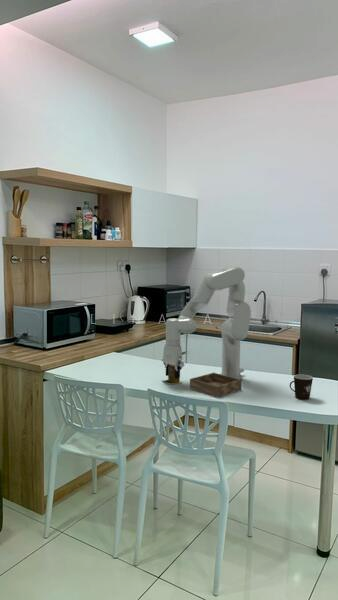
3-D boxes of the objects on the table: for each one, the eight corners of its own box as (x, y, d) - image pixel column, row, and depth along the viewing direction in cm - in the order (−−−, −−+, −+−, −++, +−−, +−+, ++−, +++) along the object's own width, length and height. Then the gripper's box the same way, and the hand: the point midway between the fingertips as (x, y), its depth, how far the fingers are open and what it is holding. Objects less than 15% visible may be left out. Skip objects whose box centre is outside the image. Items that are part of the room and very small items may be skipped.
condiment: (183, 382, 236) (183, 359, 235) (169, 385, 232) (169, 361, 231) (175, 379, 242) (175, 357, 241) (161, 381, 238) (161, 358, 237)
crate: (213, 381, 238) (213, 372, 237) (241, 389, 225) (241, 379, 225) (189, 388, 226) (189, 379, 225) (217, 397, 213) (218, 387, 212)
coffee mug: (308, 394, 218) (309, 374, 217) (314, 400, 209) (315, 379, 208) (284, 394, 218) (285, 374, 217) (289, 400, 209) (290, 379, 208)
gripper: (156, 340, 238) (156, 374, 240) (180, 346, 226) (179, 381, 228) (166, 339, 243) (166, 372, 245) (190, 344, 231) (189, 378, 233)
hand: (172, 376), depth 237 cm, fingers closed on condiment, 6 cm apart
